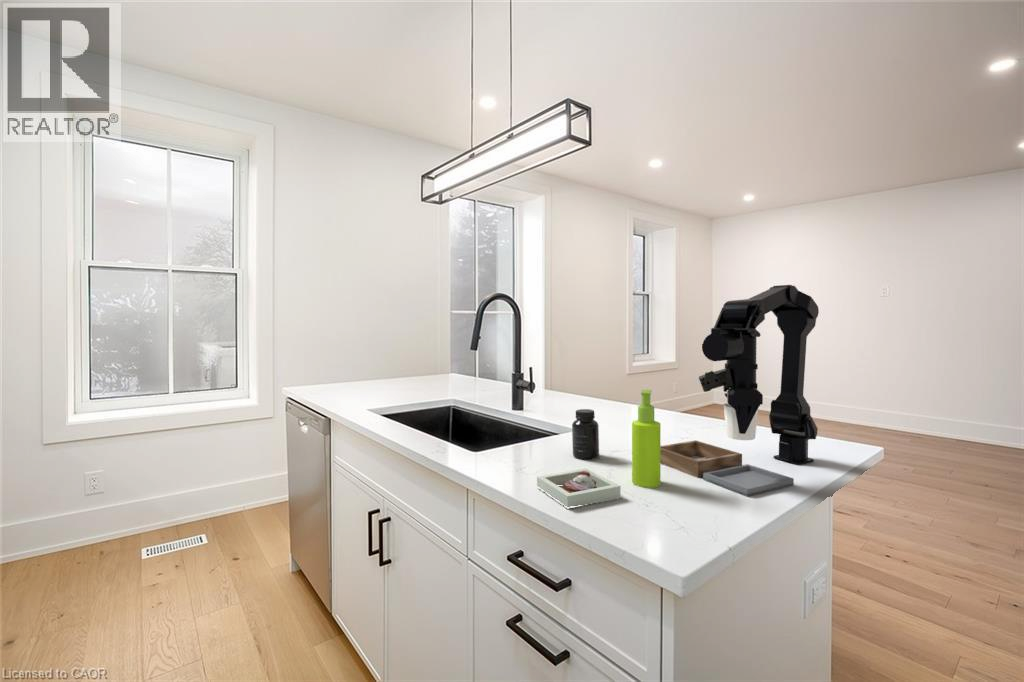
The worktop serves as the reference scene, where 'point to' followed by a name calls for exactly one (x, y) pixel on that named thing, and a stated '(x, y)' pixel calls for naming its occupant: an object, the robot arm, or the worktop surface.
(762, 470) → the charcoal tray
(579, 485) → the pastry
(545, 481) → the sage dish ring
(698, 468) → the walnut bin
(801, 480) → the worktop surface
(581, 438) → the supplement bottle
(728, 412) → the white tapered cup
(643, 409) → the soap dispenser
